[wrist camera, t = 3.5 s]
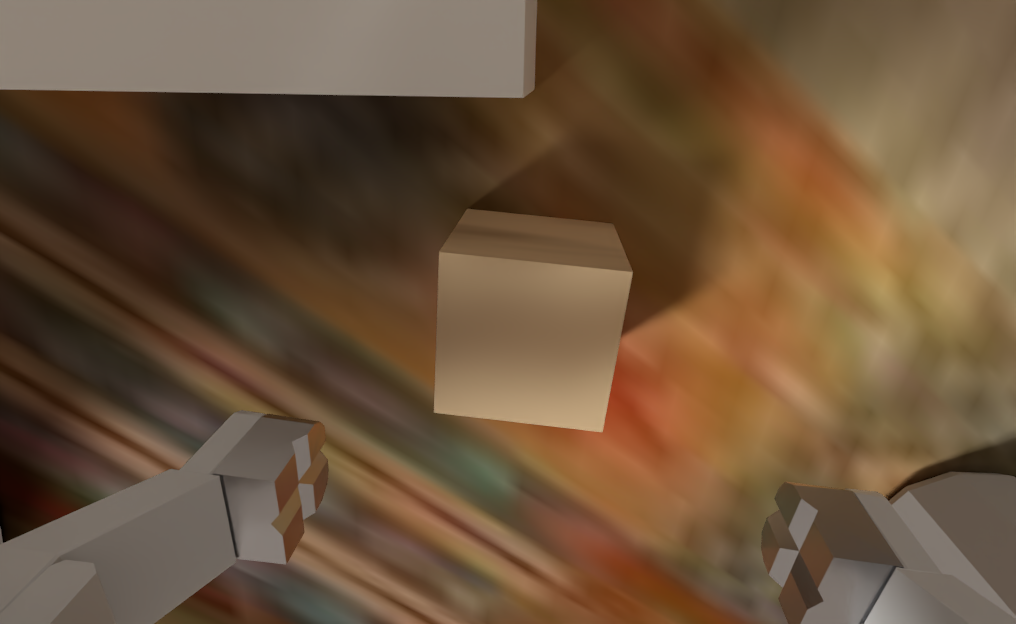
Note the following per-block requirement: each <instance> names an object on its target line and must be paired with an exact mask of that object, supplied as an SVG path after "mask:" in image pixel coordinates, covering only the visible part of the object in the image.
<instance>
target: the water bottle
mask: <svg viewBox="0 0 1016 624" xmlns="http://www.w3.org/2000/svg"><path fill="white" fill-rule="evenodd" d="M889 503H890V504H891V505H892V507H893V508H894V509H895V511H896V512H897V513H898V515H899V516H900V518H901V519H902V520H903V522H904V523H905V524H906V526H907V527H908V528H909V530H910V531H911V532H912V534H913V535H914V536H915V538H916V539H917V540H918V542H919V543H920V544H921V546H922V547H923V549H924V550H925V551H926V553H927V554H928V555H929V557H930V558H931V559H932V561H933V562H934V563H935V565H936V566H937V567H938V569H939V570H940V571H941V573H942V574H947V575H953V576H954V577H956V578H957V579H959V580H960V581H962V582H963V583H965V584H966V585H967V586H969V587H970V588H972V589H973V590H975V591H976V592H978V593H979V594H980V595H982V596H983V597H985V598H986V599H988V600H989V601H991V602H992V603H993V604H995V605H996V606H998V607H999V608H1001V609H1002V610H1004V611H1005V612H1006V613H1008V614H1009V615H1011V616H1012V617H1014V618H1015V619H1016V477H1014V476H1010V475H1004V474H997V473H974V472H948V473H945V474H942V475H939V476H936V477H933V478H930V479H927V480H924V481H921V482H918V483H915V484H912V485H909V486H906V487H905V488H903V489H902V490H901V491H900V492H899V493H897V494H896V495H895V496H894V497H893V498H891V499H890V500H889Z"/></svg>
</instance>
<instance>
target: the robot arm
mask: <svg viewBox="0 0 1016 624" xmlns="http://www.w3.org/2000/svg"><path fill="white" fill-rule="evenodd" d="M325 441H326V435H325V428H324V425H323V424H322V423H321V422H319V421H312V420H306V419H299V418H292V417H286V416H279V415H273V414H263V413H257V412H250V411H243V410H241V411H238V412H235V413H233V414H232V415H231V416H230V417H229V418H228V419H227V420H226V421H225V423H224V424H223V425H222V426H221V427H220V428H219V429H218V430H217V431H216V432H215V433H214V434H213V435H212V436H211V437H210V438H209V439H208V440H207V441H206V442H205V444H204V445H203V446H202V447H201V448H200V449H199V450H198V451H197V452H196V453H195V454H194V455H193V456H192V457H191V458H190V459H189V460H188V461H187V462H186V464H185V465H184V466H183V467H182V468H181V469H180V470H173V469H170V470H167V471H165V472H163V473H161V474H158V475H156V476H154V477H152V478H149V479H147V480H145V481H143V482H140V483H138V484H136V485H133V486H131V487H129V488H127V489H124V490H122V491H120V492H118V493H115V494H113V495H111V496H109V497H106V498H104V499H102V500H100V501H97V502H95V503H93V504H91V505H88V506H86V507H84V508H82V509H79V510H77V511H75V512H72V513H70V514H68V515H66V516H63V517H61V518H59V519H57V520H54V521H52V522H50V523H48V524H45V525H43V526H41V527H39V528H36V529H34V530H32V531H30V532H27V533H25V534H23V535H21V536H18V537H16V538H14V539H11V540H9V541H7V542H5V543H3V539H2V534H1V528H0V624H154V623H155V622H156V621H158V620H159V619H160V618H162V617H163V616H164V615H166V614H167V613H168V612H170V611H171V610H173V609H174V608H175V607H177V606H178V605H179V604H181V603H182V602H183V601H185V600H186V599H187V598H189V597H190V596H191V595H193V594H194V593H195V592H197V591H198V590H199V589H201V588H202V587H203V586H205V585H206V584H207V583H209V582H210V581H211V580H213V579H214V578H215V577H217V576H218V575H219V574H221V573H222V572H223V571H225V570H226V569H227V568H229V567H230V566H231V565H233V564H234V563H235V562H236V561H237V560H236V559H244V560H252V561H261V562H270V563H279V564H287V563H288V561H289V559H290V557H291V555H292V554H293V552H294V550H295V548H296V546H297V545H298V543H299V541H300V539H301V538H302V536H303V534H304V523H303V520H304V519H305V518H307V517H308V516H310V515H312V514H313V513H315V512H316V510H317V509H318V507H319V505H320V503H321V501H322V499H323V496H324V492H325V489H326V486H327V481H328V471H329V470H328V459H327V458H326V457H325V456H324V455H323V453H322V452H321V451H320V449H321V448H322V446H323V444H324V443H325ZM775 501H776V503H777V505H778V507H779V509H780V510H778V511H776V512H775V513H773V514H772V515H770V516H769V517H767V519H766V522H765V525H764V527H763V530H762V542H761V550H762V555H763V560H764V563H765V566H766V569H767V571H768V574H769V575H770V576H771V577H772V578H773V579H774V580H775V581H776V582H777V583H778V584H779V585H780V586H781V587H783V589H782V591H781V594H780V596H779V598H778V599H779V602H780V604H781V607H782V609H783V612H784V614H785V617H786V619H787V622H788V624H1016V619H1015V618H1014V617H1012V616H1011V615H1009V614H1008V613H1006V612H1005V611H1004V610H1002V609H1001V608H999V607H998V606H996V605H995V604H993V603H992V602H991V601H989V600H988V599H986V598H985V597H983V596H982V595H980V594H979V593H978V592H976V591H975V590H973V589H972V588H970V587H969V586H967V585H966V584H965V583H963V582H962V581H960V580H959V579H957V578H956V577H954V576H953V575H947V574H942V573H941V571H940V570H939V569H938V567H937V566H936V565H935V563H934V562H933V561H932V559H931V558H930V557H929V555H928V554H927V553H926V551H925V550H924V549H923V547H922V546H921V544H920V543H919V542H918V540H917V539H916V538H915V536H914V535H913V534H912V532H911V531H910V530H909V528H908V527H907V526H906V524H905V523H904V522H903V520H902V519H901V518H900V516H899V515H898V513H897V512H896V511H895V509H894V508H893V507H892V505H891V504H890V503H889V501H888V500H887V499H886V498H885V497H884V496H883V495H881V494H880V493H878V492H874V491H864V490H855V489H840V488H832V487H824V486H816V485H807V484H799V483H791V482H784V483H783V484H782V485H781V486H780V487H779V489H778V492H777V494H776V496H775Z"/></svg>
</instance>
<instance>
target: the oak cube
mask: <svg viewBox="0 0 1016 624" xmlns="http://www.w3.org/2000/svg"><path fill="white" fill-rule="evenodd" d="M632 275H633V271H632V269H631V266H630V264H629V261H628V259H627V256H626V254H625V251H624V249H623V246H622V244H621V241H620V239H619V236H618V234H617V232H616V229H615V227H614V224H613V223H604V222H594V221H584V220H574V219H564V218H555V217H545V216H535V215H525V214H515V213H505V212H495V211H485V210H476V209H467V210H466V211H465V213H464V214H463V216H462V217H461V219H460V220H459V222H458V224H457V225H456V227H455V228H454V230H453V231H452V233H451V234H450V236H449V237H448V239H447V240H446V242H445V243H444V245H443V246H442V248H441V250H440V251H439V267H438V299H437V331H436V363H435V395H434V413H442V414H450V415H459V416H467V417H476V418H485V419H493V420H502V421H510V422H519V423H528V424H536V425H545V426H553V427H562V428H571V429H579V430H588V431H596V432H602V431H603V426H604V421H605V416H606V411H607V405H608V400H609V395H610V390H611V384H612V379H613V374H614V369H615V364H616V358H617V353H618V348H619V343H620V337H621V332H622V327H623V322H624V317H625V311H626V306H627V301H628V296H629V290H630V285H631V280H632Z"/></svg>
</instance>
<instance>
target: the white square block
mask: <svg viewBox="0 0 1016 624" xmlns="http://www.w3.org/2000/svg"><path fill="white" fill-rule="evenodd" d="M536 25H537V0H0V89H7V90H68V91H130V92H191V93H252V94H313V95H375V96H436V97H497V98H524V97H525V96H526V95H528V94H529V93H531V92H532V91H533V90H535V58H536Z"/></svg>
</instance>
